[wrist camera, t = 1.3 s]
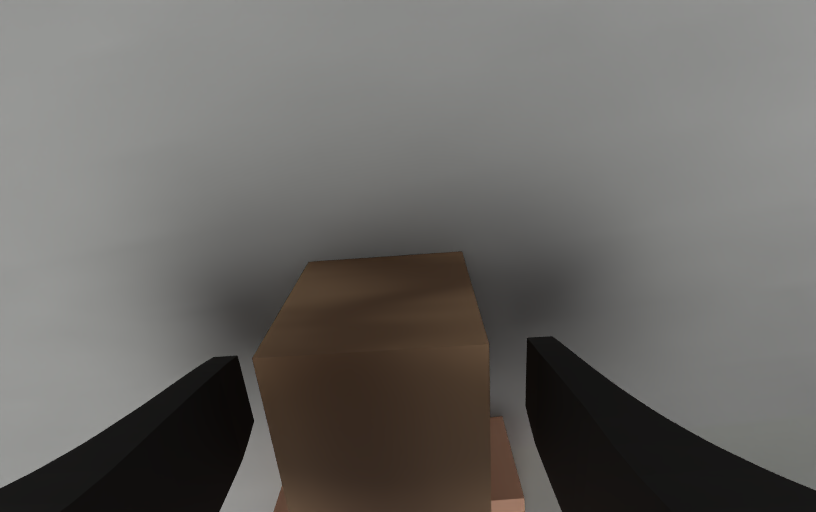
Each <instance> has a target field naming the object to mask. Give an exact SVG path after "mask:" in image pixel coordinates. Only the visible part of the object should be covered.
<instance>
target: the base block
mask: <svg viewBox="0 0 816 512" xmlns="http://www.w3.org/2000/svg"><path fill="white" fill-rule="evenodd" d="M490 451H491V512H525V505H524V495H523V492H522V488H521V484H520V481H519V477H518V473H517V469H516V466H515V462H514V458H513V455H512V451H511V447H510V444H509V440H508V436H507V432H506V429H505V425H504V421H503V418H502V416H500V417H490ZM274 512H289V511H288V507H287V502H286V498H285V494H284V490H283V486H282V487H281V490H280V493H279V497H278V500H277V503H276V506H275V509H274Z"/></svg>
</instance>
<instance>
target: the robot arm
mask: <svg viewBox="0 0 816 512" xmlns="http://www.w3.org/2000/svg"><path fill="white" fill-rule="evenodd" d="M525 406H526V410H527V414H528V418H529V422H530V426H531V430H532V433H533V437H534V441H535V444H536V447H537V450H538V452H539V455H540V457H541V460H542V462H543V465H544V468H545V470H546V473H547V475H548V478H549V480H550V483H551V485H552V488H553V490H554V493H555V495H556V498H557V500H558V503H559V505H560V508H561V510H562V512H816V490H813V489H811V488H808V487H806V486H803V485H801V484H798V483H796V482H793V481H791V480H789V479H786V478H784V477H782V476H780V475H777V474H775V473H773V472H770V471H768V470H766V469H764V468H761V467H759V466H757V465H755V464H753V463H751V462H749V461H747V460H745V459H743V458H740V457H738V456H736V455H734V454H732V453H730V452H728V451H726V450H724V449H722V448H720V447H718V446H716V445H714V444H712V443H710V442H708V441H706V440H704V439H702V438H701V437H699V436H697V435H695V434H693V433H692V432H690V431H688V430H686V429H685V428H683V427H681V426H679V425H677V424H676V423H674V422H672V421H670V420H669V419H667V418H665V417H664V416H662V415H660V414H659V413H657V412H655V411H654V410H652V409H651V408H649V407H648V406H646V405H645V404H643V403H642V402H640V401H639V400H637V399H636V398H634V397H633V396H631V395H629V394H628V393H627V392H625V391H624V390H622V389H621V388H619V387H618V386H617V385H615V384H614V383H612V382H611V381H610V380H608V379H607V378H606V377H604V376H603V375H602V374H600V373H599V372H598V371H596V370H595V369H594V368H592V367H591V366H590V365H588V364H587V363H586V362H585V361H583V360H582V359H581V358H579V357H578V356H577V355H576V354H574V353H573V352H572V351H571V350H569V349H568V348H567V347H566V346H564V345H563V344H562V343H561V342H559V341H558V340H557V339H555V338H554V337H552V336H550V337H534V338H527V363H526V405H525ZM253 423H254V419H253V415H252V411H251V407H250V403H249V399H248V395H247V391H246V387H245V383H244V379H243V375H242V371H241V367H240V363H239V359H238V356H223V357H213V358H211V359H210V360H208V361H206V362H205V363H203V364H201V365H200V366H198V367H197V368H195V369H194V370H192V371H191V372H189V373H188V374H187V375H185V376H184V377H182V378H181V379H179V380H178V381H176V382H175V383H174V384H172V385H171V386H169V387H168V388H166V389H165V390H164V391H162V392H161V393H159V394H158V395H156V396H155V397H154V398H152V399H151V400H149V401H148V402H146V403H145V404H144V405H142V406H141V407H139V408H138V409H136V410H135V411H133V412H132V413H130V414H128V415H127V416H125V417H124V418H122V419H121V420H119V421H118V422H116V423H115V424H113V425H112V426H110V427H109V428H107V429H105V430H104V431H102V432H101V433H99V434H98V435H96V436H95V437H93V438H91V439H90V440H88V441H87V442H85V443H83V444H82V445H80V446H78V447H76V448H75V449H73V450H71V451H70V452H68V453H66V454H64V455H63V456H61V457H59V458H57V459H56V460H54V461H52V462H50V463H48V464H47V465H45V466H43V467H41V468H39V469H38V470H36V471H34V472H32V473H30V474H28V475H26V476H24V477H22V478H20V479H18V480H16V481H14V482H12V483H10V484H8V485H6V486H4V487H2V488H0V512H219V511H220V509H221V507H222V505H223V502H224V500H225V498H226V496H227V494H228V491H229V489H230V487H231V485H232V483H233V480H234V478H235V476H236V474H237V471H238V469H239V467H240V464H241V462H242V460H243V457H244V453H245V450H246V447H247V444H248V441H249V437H250V434H251V430H252V427H253Z"/></svg>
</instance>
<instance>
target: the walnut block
mask: <svg viewBox="0 0 816 512" xmlns="http://www.w3.org/2000/svg"><path fill="white" fill-rule="evenodd" d="M252 360H253V364H254V368H255V373H256V377H257V381H258V385H259V389H260V393H261V398H262V402H263V406H264V410H265V414H266V419H267V423H268V427H269V431H270V435H271V440H272V444H273V448H274V452H275V456H276V461H277V465H278V469H279V473H280V477H281V481H282V486H283V490H284V494H285V498H286V502H287V507H288V511H289V512H491V451H490V374H489V342H488V339H487V335H486V332H485V328H484V325H483V322H482V318H481V315H480V311H479V308H478V305H477V301H476V298H475V294H474V291H473V288H472V284H471V281H470V277H469V274H468V270H467V267H466V264H465V260H464V257H463V253H462V251H461V252H446V253H432V254H417V255H402V256H387V257H372V258H358V259H343V260H328V261H313V262H308V264H307V266H306V267H305V269H304V271H303V273H302V274H301V276H300V278H299V279H298V281H297V283H296V284H295V286H294V288H293V290H292V291H291V293H290V295H289V296H288V298H287V300H286V302H285V303H284V305H283V307H282V308H281V310H280V312H279V313H278V315H277V317H276V319H275V320H274V322H273V324H272V325H271V327H270V329H269V331H268V332H267V334H266V336H265V337H264V339H263V341H262V343H261V344H260V346H259V348H258V349H257V351H256V353H255V354H254V356H253V358H252Z"/></svg>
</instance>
